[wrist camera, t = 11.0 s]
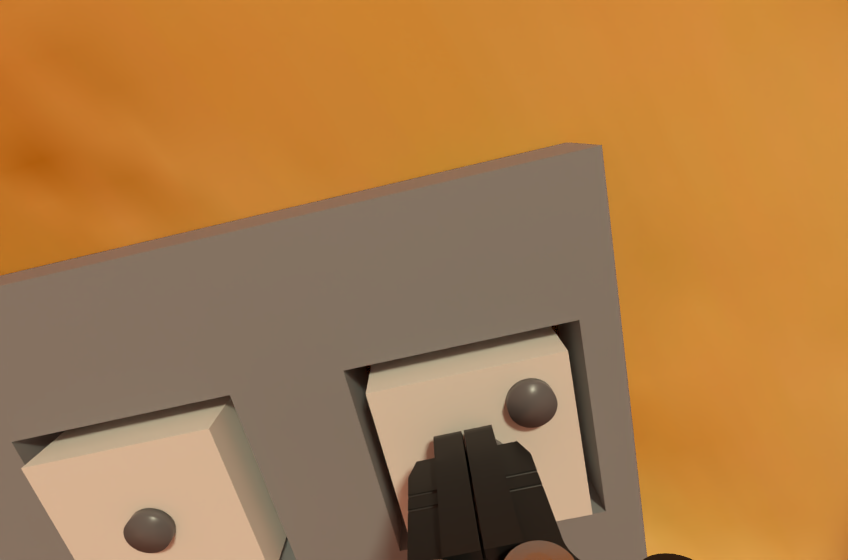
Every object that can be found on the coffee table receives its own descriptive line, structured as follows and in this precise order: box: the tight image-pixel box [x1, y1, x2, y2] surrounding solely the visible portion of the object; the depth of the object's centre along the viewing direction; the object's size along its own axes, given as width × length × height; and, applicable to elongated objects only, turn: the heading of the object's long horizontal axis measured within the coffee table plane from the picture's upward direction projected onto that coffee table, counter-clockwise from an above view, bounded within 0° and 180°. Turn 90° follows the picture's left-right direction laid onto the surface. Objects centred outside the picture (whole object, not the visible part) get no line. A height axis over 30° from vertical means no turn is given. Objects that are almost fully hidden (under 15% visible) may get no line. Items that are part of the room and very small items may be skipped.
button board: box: [0, 143, 647, 560], centre depth 14 cm, size 26×14×2 cm, turn 103°
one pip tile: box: [21, 395, 287, 560], centre depth 14 cm, size 5×5×3 cm
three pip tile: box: [366, 326, 592, 532], centre depth 13 cm, size 5×5×3 cm
